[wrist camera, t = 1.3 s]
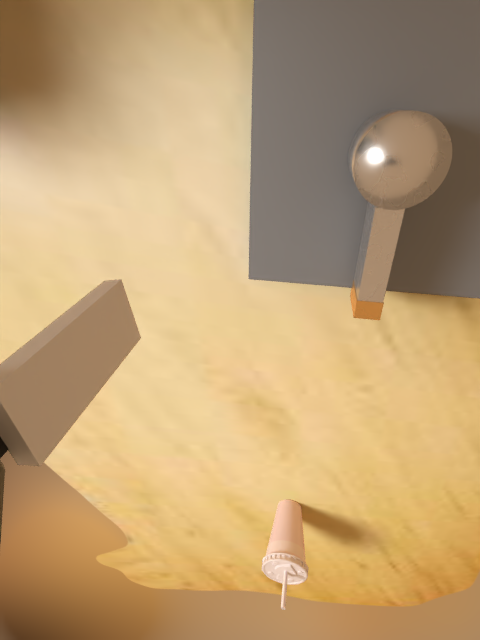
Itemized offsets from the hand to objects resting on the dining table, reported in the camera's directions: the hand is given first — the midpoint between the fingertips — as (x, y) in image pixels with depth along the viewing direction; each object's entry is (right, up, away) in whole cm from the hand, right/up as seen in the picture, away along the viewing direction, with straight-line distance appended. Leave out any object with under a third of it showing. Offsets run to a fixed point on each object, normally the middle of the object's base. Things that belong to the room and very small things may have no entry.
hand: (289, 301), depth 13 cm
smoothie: (+6, -30, +45) cm, 55 cm away
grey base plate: (+10, +14, +17) cm, 24 cm away
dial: (+10, +9, +18) cm, 22 cm away
